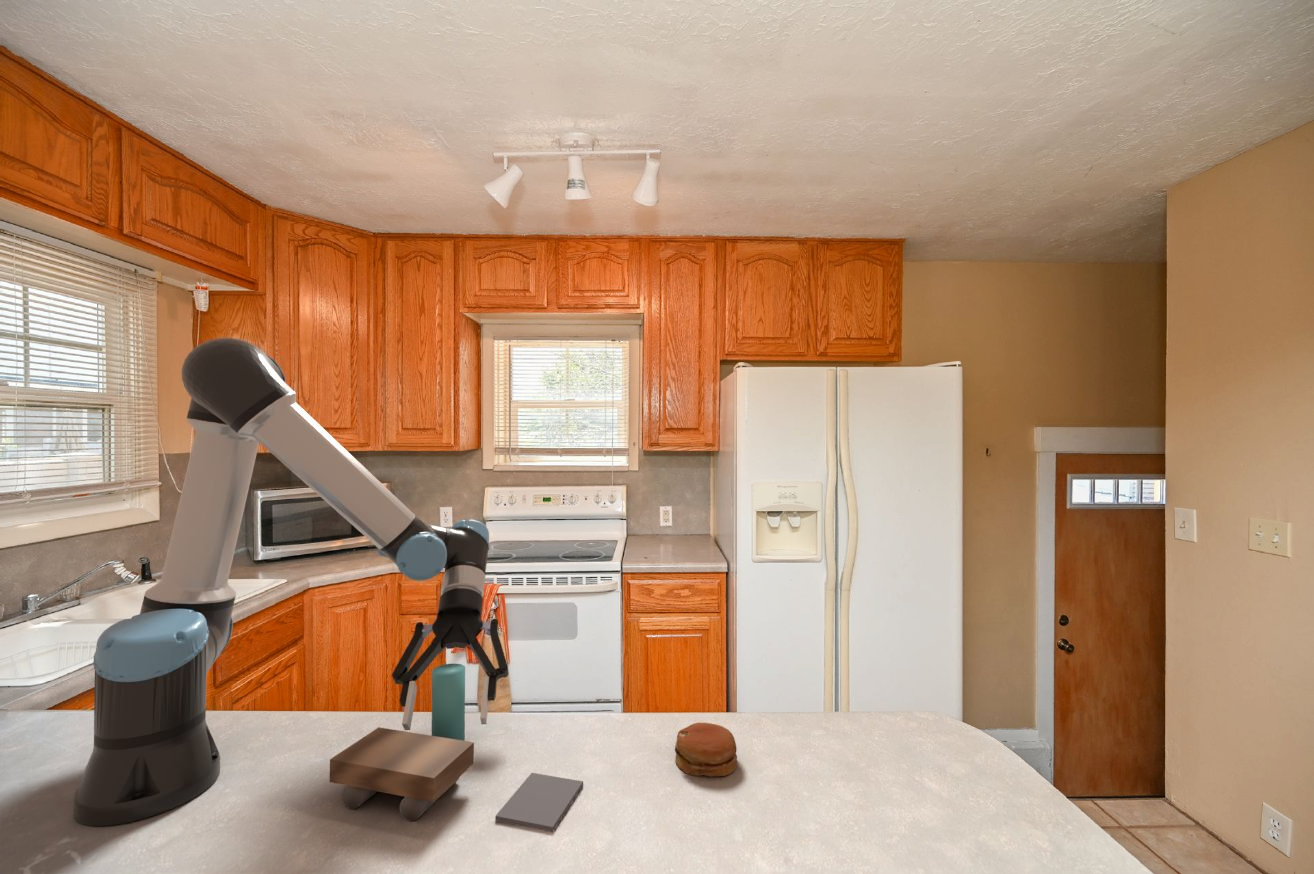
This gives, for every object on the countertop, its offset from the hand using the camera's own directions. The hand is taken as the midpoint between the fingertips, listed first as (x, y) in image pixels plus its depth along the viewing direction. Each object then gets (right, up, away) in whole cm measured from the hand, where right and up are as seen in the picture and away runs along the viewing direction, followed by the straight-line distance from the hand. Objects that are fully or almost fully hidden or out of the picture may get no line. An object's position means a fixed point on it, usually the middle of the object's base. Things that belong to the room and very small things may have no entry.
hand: (445, 724), depth 89 cm
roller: (-1, -5, +3) cm, 5 cm away
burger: (+40, -5, -2) cm, 41 cm away
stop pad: (+17, -5, -12) cm, 21 cm away
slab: (-2, -5, -10) cm, 11 cm away
